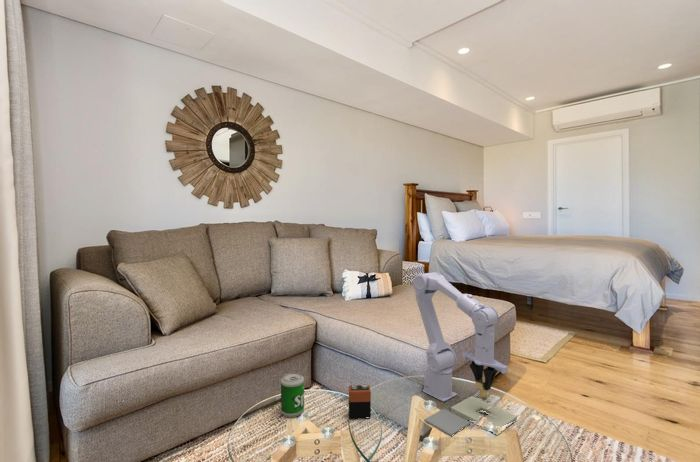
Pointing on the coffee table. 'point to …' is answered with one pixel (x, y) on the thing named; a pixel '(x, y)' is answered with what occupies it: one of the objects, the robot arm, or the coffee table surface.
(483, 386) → the t key
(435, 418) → the felt pad
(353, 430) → the coffee table surface
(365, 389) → the battery
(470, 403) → the plate
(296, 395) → the soda can
